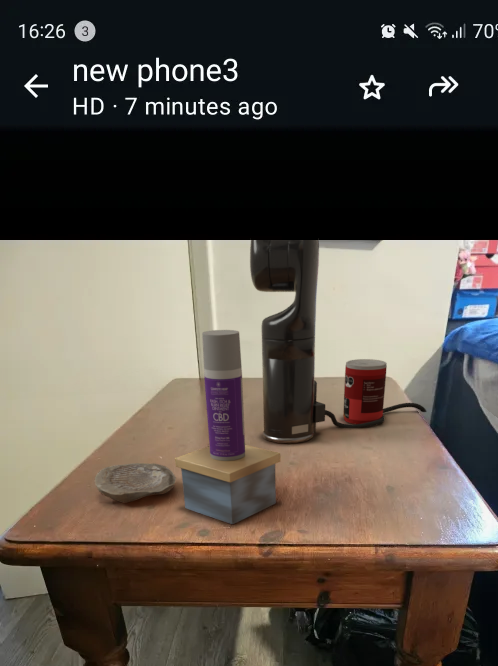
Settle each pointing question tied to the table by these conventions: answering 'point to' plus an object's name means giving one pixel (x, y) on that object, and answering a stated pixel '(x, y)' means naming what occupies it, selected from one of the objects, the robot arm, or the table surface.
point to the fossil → (134, 481)
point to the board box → (229, 483)
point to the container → (224, 394)
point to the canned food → (364, 390)
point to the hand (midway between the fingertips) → (228, 198)
